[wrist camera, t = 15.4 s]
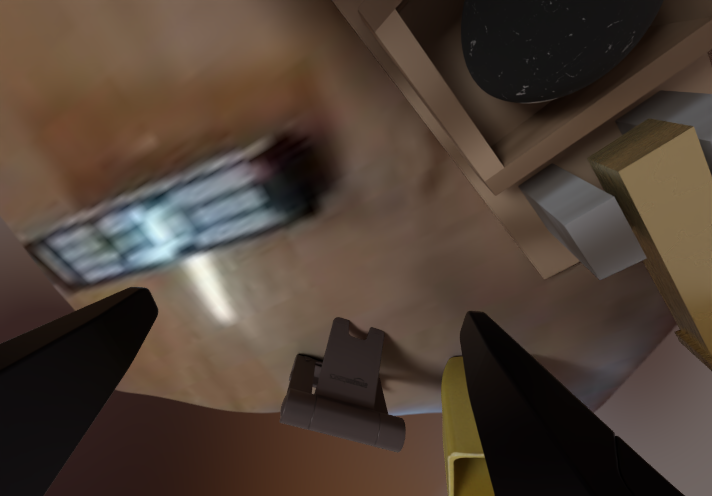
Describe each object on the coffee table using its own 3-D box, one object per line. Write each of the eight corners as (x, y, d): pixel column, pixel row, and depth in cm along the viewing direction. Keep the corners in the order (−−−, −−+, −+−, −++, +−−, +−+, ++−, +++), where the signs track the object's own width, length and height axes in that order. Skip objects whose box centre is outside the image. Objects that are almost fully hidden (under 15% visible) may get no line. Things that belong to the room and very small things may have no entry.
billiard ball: (608, -98, 11) (809, -246, 6) (576, 82, 14) (690, 89, 9) (445, -50, 12) (493, -140, 7) (449, 108, 15) (485, 127, 10)
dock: (334, 3, 14) (306, -36, 9) (569, -305, 9) (799, -763, 4) (537, 271, 21) (588, 335, 16) (726, 171, 16) (881, 217, 11)
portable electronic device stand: (292, 360, 29) (263, 454, 22) (311, 308, 25) (283, 403, 18) (373, 383, 30) (371, 480, 23) (404, 336, 26) (413, 437, 19)
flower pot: (532, 336, 24) (600, 456, 17) (520, 395, 29) (569, 511, 21) (428, 342, 26) (447, 455, 18) (431, 397, 30) (448, 507, 23)
